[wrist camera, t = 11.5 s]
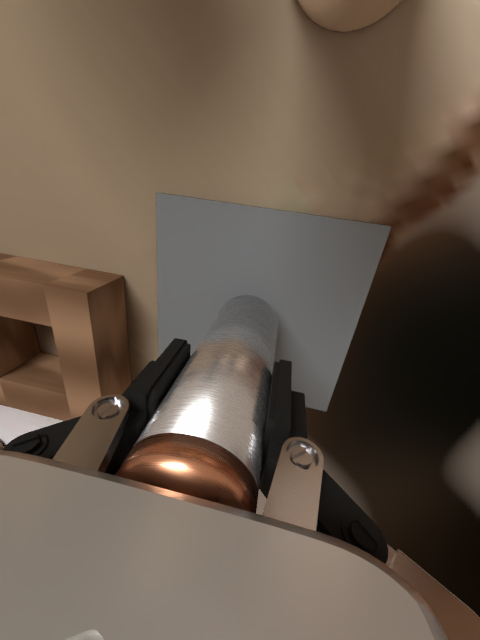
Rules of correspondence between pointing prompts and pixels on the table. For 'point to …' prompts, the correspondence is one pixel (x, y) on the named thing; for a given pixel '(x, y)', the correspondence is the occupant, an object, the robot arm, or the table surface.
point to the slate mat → (267, 279)
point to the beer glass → (346, 12)
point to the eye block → (61, 337)
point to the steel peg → (214, 413)
